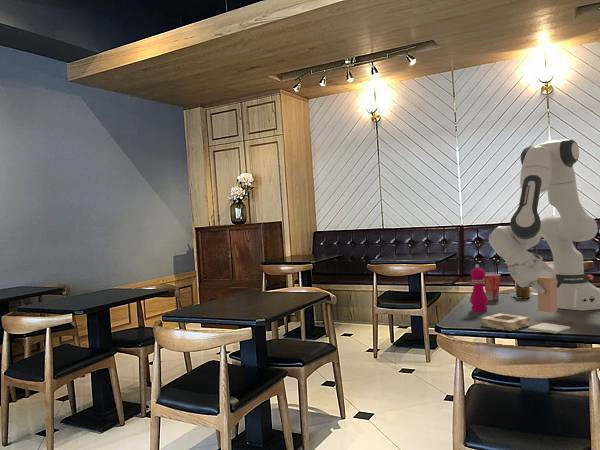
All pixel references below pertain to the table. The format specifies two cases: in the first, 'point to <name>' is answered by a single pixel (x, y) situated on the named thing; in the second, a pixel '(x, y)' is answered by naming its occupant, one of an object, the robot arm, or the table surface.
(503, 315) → the pocket board
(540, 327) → the felt pad
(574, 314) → the table surface
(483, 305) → the pepper mill
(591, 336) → the table surface
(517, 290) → the condiment
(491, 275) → the cup
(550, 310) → the terracotta block
